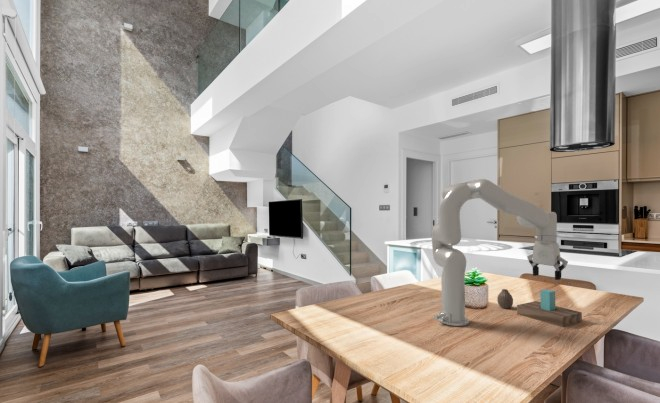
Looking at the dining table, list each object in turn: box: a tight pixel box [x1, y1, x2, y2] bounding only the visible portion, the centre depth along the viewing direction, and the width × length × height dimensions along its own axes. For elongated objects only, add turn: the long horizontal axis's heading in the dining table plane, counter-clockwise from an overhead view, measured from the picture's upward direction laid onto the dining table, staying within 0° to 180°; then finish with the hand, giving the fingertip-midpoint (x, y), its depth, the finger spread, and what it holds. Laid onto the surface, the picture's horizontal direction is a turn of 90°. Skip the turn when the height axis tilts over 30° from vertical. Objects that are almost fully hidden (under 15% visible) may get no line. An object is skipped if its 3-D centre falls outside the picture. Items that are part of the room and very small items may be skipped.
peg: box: [539, 288, 556, 311], centre depth 153 cm, size 4×4×12 cm
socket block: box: [516, 300, 583, 328], centre depth 153 cm, size 14×20×4 cm
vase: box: [496, 288, 514, 310], centre depth 168 cm, size 7×7×9 cm
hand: (546, 277), depth 153 cm, fingers open, 9 cm apart
